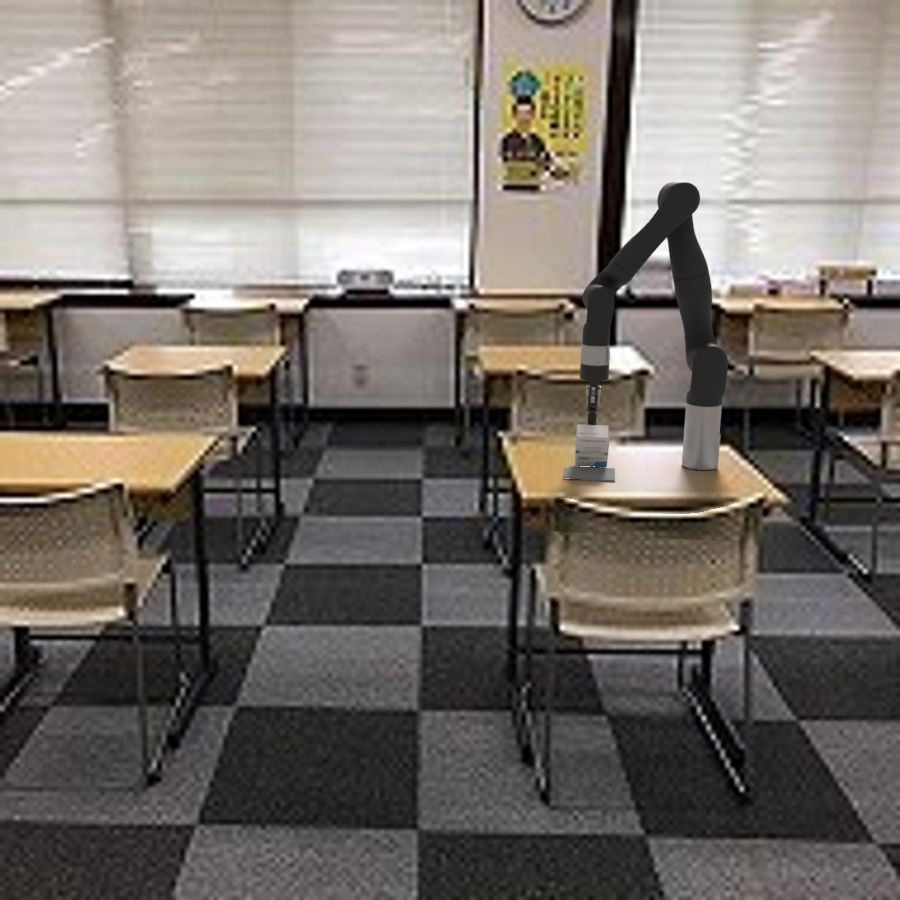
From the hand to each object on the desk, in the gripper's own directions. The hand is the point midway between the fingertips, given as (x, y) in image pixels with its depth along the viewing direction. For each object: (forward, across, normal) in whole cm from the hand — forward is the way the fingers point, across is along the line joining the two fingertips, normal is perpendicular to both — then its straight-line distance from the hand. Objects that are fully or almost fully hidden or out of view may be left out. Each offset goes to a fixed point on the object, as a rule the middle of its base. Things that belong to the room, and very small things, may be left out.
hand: (591, 426), depth 276 cm
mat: (+11, -8, 0) cm, 13 cm away
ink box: (+10, +1, 0) cm, 10 cm away
